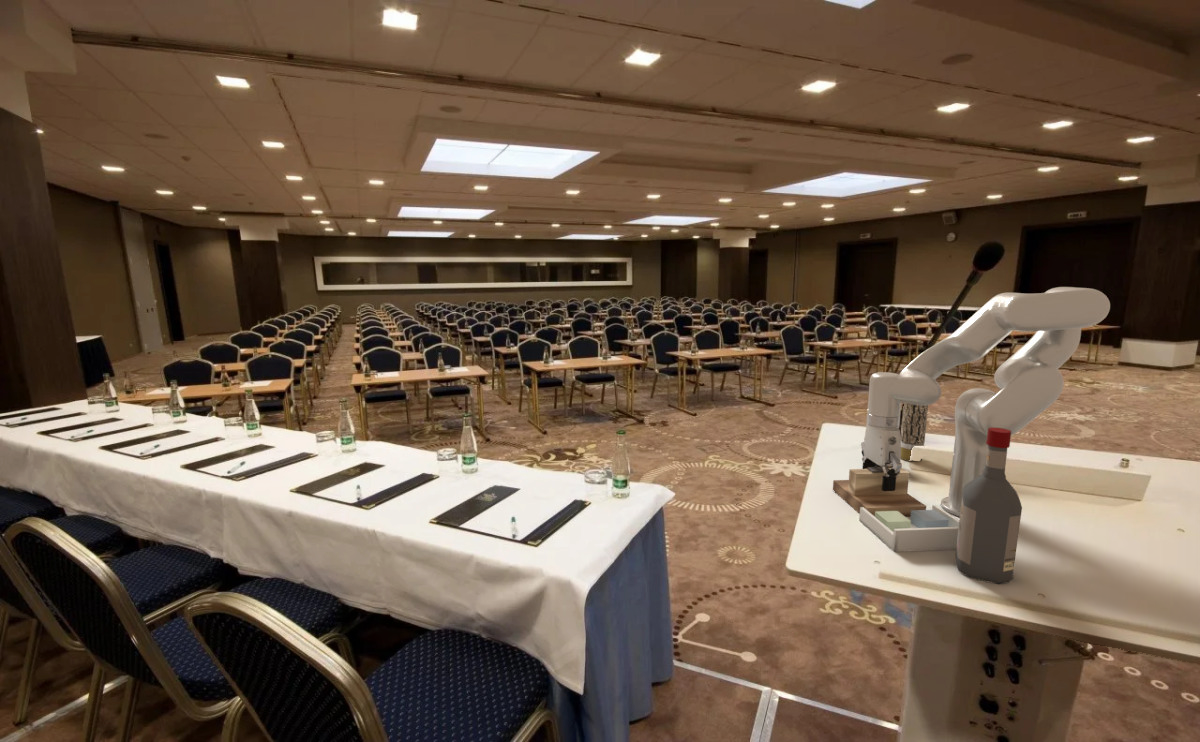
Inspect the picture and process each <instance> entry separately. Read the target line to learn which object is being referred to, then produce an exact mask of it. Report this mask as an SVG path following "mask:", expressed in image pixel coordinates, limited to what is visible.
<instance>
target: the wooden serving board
mask: <svg viewBox="0 0 1200 742" xmlns="http://www.w3.org/2000/svg"><path fill="white" fill-rule="evenodd" d="M832 483H833V484H832V491H833V490H834V491H835V492H836V493H837V494H838V495H837V494H836V493H835V492H834V491H833V492H834V493H835V494H836V495H837V496H838V497H840V498H841V499H842V500H843V501H844V500H845V501H844V502H845V503H847V504H848V505H849V506H850V507H851V508H852V509H854V511H856V513H858V514H859V515H860V507H864V508H865V509H866V510H867V511H869V512H870V513H871V514H872V515H873V516H875V512H877V511H898V512H900V513H901V514H902V515H904V516H905V517H911V510H927V505H926V504H924V503H923V502H921V501H920V500H918V499H916V498H915V497H913V496H912V495H911V494H909V493H908V492H907V494H902V495H869V496H854V495H853V494H852V493H850V492H849V491H848V484H849V479H838V480H837V479H836V480H833V482H832Z"/></svg>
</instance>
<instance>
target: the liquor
mask: <svg viewBox="0 0 1200 742" xmlns="http://www.w3.org/2000/svg"><path fill="white" fill-rule="evenodd" d="M1011 436H1012V435H1011V431H1010V430H1007V429H1003V428H994V427H993V428H989V429H988V434H987V442H986V444H987V445H988V449H987V456H986V464H985V468H984V470H983V474H981V475H980V476H978V477H976V478H975V479H973V480H972V481H970V482H969V483H967V484H966V485H965V486H964V488H963V493H962V502H961V511H960V517H959V519H958V520H959V529H958V538H957V547H956V550H955V561H956V568H957V570H958V572H960V573H962V574H963V575H965V576H966V577H968V578H970V579H974V580H980V581H983V582H989V583H991V584H996V585H1002V584H1007V583H1010V582H1011V581H1012V580H1013V578H1014V570H1015V563H1016V555H1017V548H1018V547H1017V546H1018V542H1019V541H1018V540H1019V533H1020V526H1021V519H1022V511H1023V507H1022V502H1021V500H1020V498H1019V497H1020V496H1019V495H1018V492H1017V491H1016V490H1015V488H1014V487H1013V486H1012V484H1011V483H1010V482H1009V480H1008V479H1007V476H1006V464H1007V456H1008V448H1010V445H1011V438H1012V437H1011Z"/></svg>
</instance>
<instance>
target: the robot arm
mask: <svg viewBox="0 0 1200 742" xmlns="http://www.w3.org/2000/svg"><path fill="white" fill-rule="evenodd" d="M1110 310H1111V302H1110V300H1109V298H1108V297H1107V295H1106V294H1104V293H1103V292H1102V291H1100V290H1098V289H1095V288H1089V287H1088V288H1087V287H1074V286H1058V287H1052V288H1050V289H1048V290H1046V291H1045V292H1041V293H1039V292H1038V293H1036V292H1035V293H1024V292H1023V293H1021V292H1002V293H998V294H996V295H995V296H993V297H992V298H990V299H989V300H988V301H987V302H986V303H984V305H982V307H980V308H979V309H978V310H977V311H975V313H973V314H972V316H970V317H968V319H967V320H966V321H965V322H963V323H962V324H961V325H960V326H959V327H958V328H957V329H956V330H954V332H952V333H951V334H950V335H948V336H947V337H945V338H943V339H942V340H940V341H939V342H937V343H935V344H933V345H932V346H931V347H929V348H927V349H925V350H924V351H923V352H921V353H920V354H919V355H918V356H917V357H915V358H914V359H913V360H911V362H910V363H909V364H908V365H906V367H904V368H903V369H902V370H901V371H900V373H895V372H888V371H886V372H885V371H884V372H883V371H878V372H874V373H872V374H871V375H870V377H869V384H868V386H869V387H868V399H867V412H866V427H865V433H864V438H863V439H864V440H863V441H862V442H861V444H860V446H861V455H862V459H861V460H862V468H861V469H867V467H875V463H876V464H878V465H879V466H881V467H882V468H883V471H884V474H885V476H883V479H882V490H883V491H895V486H896V477H897V476H898V474H899V473H900V469H901V468H903V465H902V463H901V429H899V428H900V423H901V421H900V420H901V409H902V403H903V404H904V403H908V404H914V405H921V406H925V405H928V406H929V405H933V404H935V403H936V402H938V400H939V399H940V397H941V395H942V387H941V385H940V384H939V382H938V381H937V380H936V379H938V378H939V377H940V376H942V375H943V374H944V373H946V372H948V371H949V370H950V369H953V368H955V367H958V366H962V365H964V364H969V363H972V362H976V361H978V360H980V359H983V358H984V357H985V356H986V355H987V354H988V353H990V351H992V350H993V349H994V348H995V347H996V346H997V345H998V344H999V343H1001V342H1002V341H1003V340H1004V339H1005V338H1007V337H1008V336H1009V335H1010V334H1011V333H1012V332H1021V333H1026V332H1027V333H1028V332H1029V333H1031V332H1035V333H1034V334H1033V336H1032V337H1031V338H1030V339H1029V340H1027V342H1026V343H1024V344H1023V346H1022V347H1020V348H1019V349H1018V350H1017V351H1016V352H1015V353H1013V354H1012V355H1011V356H1010V357H1009V358H1008V359H1007V360H1005V361H1004V362H1003V363H1001V365H1000V366H999V367H997V369H996V371H995V372H994V377H993V379H994V382H995V383H994V384H995V385H996V386H997V388H999V389H1000V390H999V391H998V392H995V391H992V390H990V389H987V388H983V387H982V388H981V387H976V388H970V389H967V390H966V391H964V392H962V393H961V394H960V395H959V397H958V398H957V399H956V402H955V406H954V425H955V429H954V431H955V434H954V435H955V436H954V443H953V444H954V446H953V452H952V453H953V454H952V461H951V472H950V482H949V492H948V496H946V497H943V498H941V500H940V506H941V507H942V508H941V509H943V510H944V511H946V512H947V513H949V514H950V515H954V516H957V517H959V518H960V511H961V502H962V493H963V488H964V486H965V485H966V484H967V483H969V482H970V481H972V480H973V479H975V478H976V477H978V476H980V475H981V474H983V470H984V468H985V464H986V456H987V449H988V445H987V444H986V442H987V434H988V429H989V428H993V427H994V428H1003V429H1007V430H1010V431H1011V436H1013V435H1015V434H1017V433H1018V432H1019V431H1022V430H1023V429H1024V428H1025V427H1027V425H1029V424H1030V423H1031V422H1033V420H1035V419H1036V418H1037V417H1038V416H1040V415H1041V414H1042V413H1043V412H1044V411H1046V410H1047V409H1048V408H1049V407H1051V405H1053V404H1054V403H1055V402H1056V401H1057V400H1058V399H1059V397H1060V395H1061V394H1062V392H1063V390H1064V385H1065V381H1064V376H1063V374H1062V373H1061V371H1060V370H1059V369H1060V367H1063V365H1064V364H1065V363H1066V362H1068V360H1069V359H1070V358H1071V357H1072V356H1073V355H1074V354H1075V352H1076V351H1077V349H1078V347H1079V345H1080V341H1081V336H1082V328H1089V327H1093V326H1095V325H1097V324H1099V323H1101V322H1102V321H1103V320H1104V319H1106V318H1107V316H1108V314H1109V312H1110ZM885 463H890V464H885ZM887 468H891V470H889V471H888V469H887Z"/></svg>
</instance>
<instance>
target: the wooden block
mask: <svg viewBox="0 0 1200 742" xmlns="http://www.w3.org/2000/svg"><path fill="white" fill-rule="evenodd" d="M887 469H888V471H889V470H891V468H887ZM883 476H885V474H884V471H883V468H882V467H867V469H862V468H854V469H853V468H849V471H848V480H849V484H848V491H849V492H850V493H852V494H853V495H854V496H869V495H902V494H907V493H908V489H909V482H910V481H909V479H910V472H909V471H907V470H906V469H904V468H903V467H901V469H900V473H899V474H898V476H897V477H896V486H895V491H883V490H882V479H883Z"/></svg>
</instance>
